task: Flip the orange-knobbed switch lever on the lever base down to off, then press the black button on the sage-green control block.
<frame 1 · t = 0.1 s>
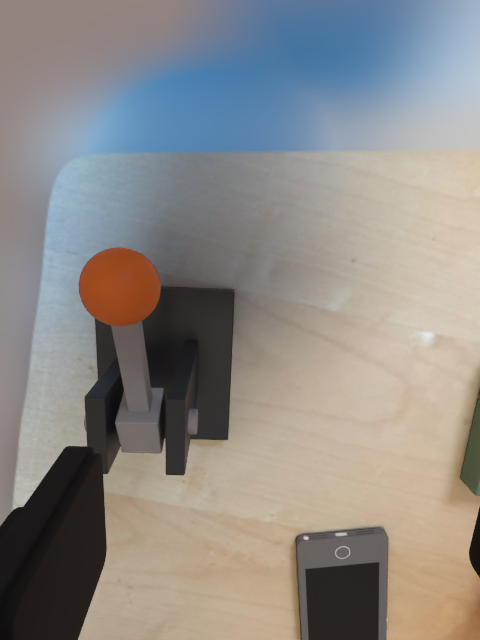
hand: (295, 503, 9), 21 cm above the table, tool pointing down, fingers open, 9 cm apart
smartphone: (341, 594, 37), on the table
lever base: (166, 362, 30), on the table
switch lever: (133, 362, 19), point 11 cm above the table, hinge at 25.0°
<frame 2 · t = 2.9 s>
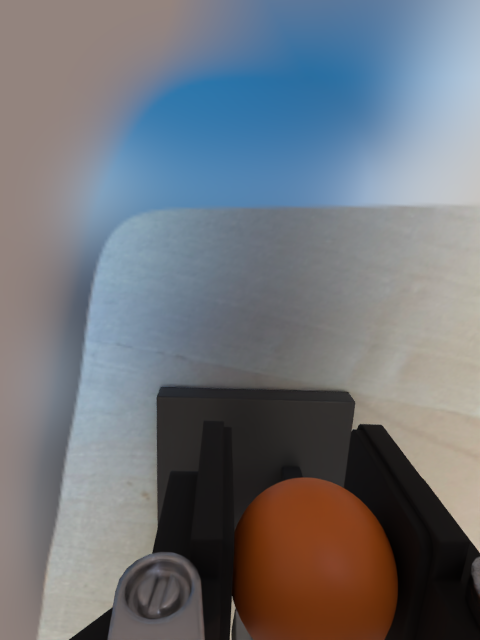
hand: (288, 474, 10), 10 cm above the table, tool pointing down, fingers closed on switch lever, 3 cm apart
lever base: (249, 486, 22), on the table
switch lever: (281, 625, 10), point 11 cm above the table, hinge at 25.0°, touching gripper
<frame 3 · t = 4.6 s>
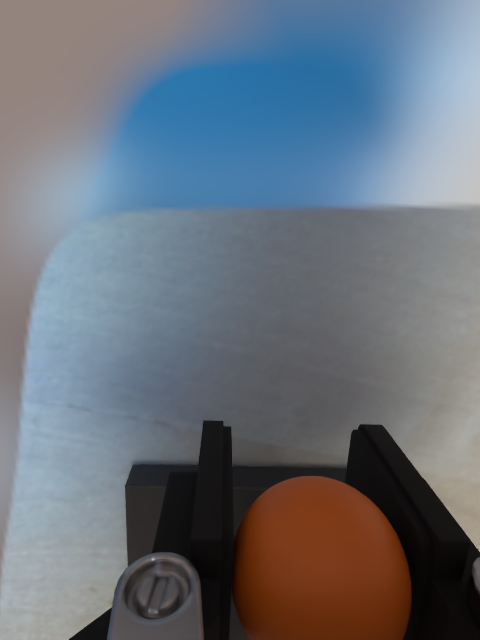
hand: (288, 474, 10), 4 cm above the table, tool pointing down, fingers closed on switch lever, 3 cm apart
lever base: (258, 592, 16), on the table
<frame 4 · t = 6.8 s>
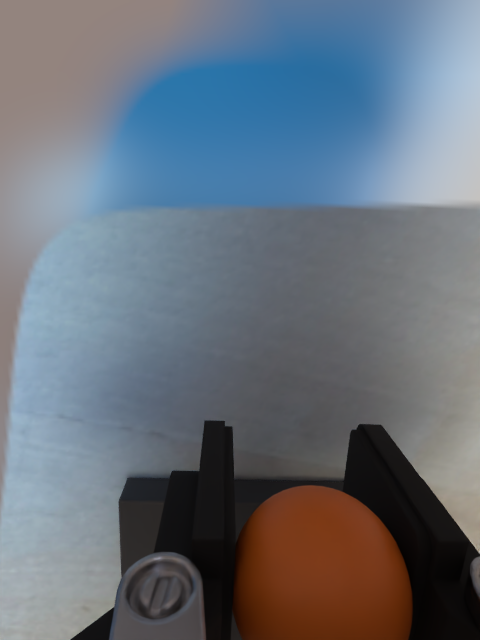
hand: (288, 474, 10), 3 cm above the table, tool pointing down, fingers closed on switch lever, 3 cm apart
lever base: (260, 611, 15), on the table
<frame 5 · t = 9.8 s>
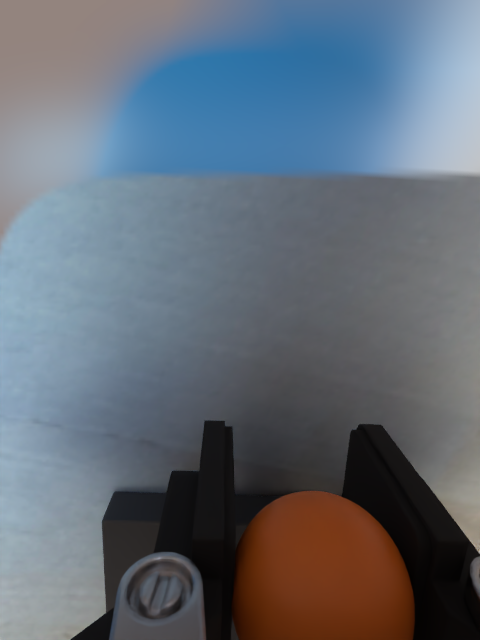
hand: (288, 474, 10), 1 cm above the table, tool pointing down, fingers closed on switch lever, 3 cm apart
lever base: (264, 639, 13), on the table
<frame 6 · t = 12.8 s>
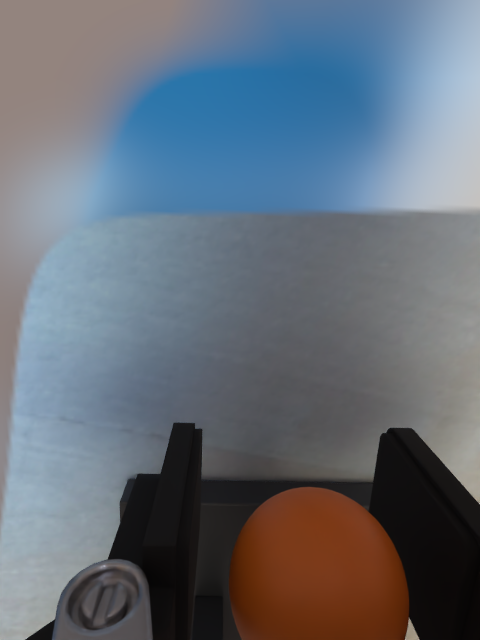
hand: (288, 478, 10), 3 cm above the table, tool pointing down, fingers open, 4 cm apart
lever base: (259, 611, 15), on the table
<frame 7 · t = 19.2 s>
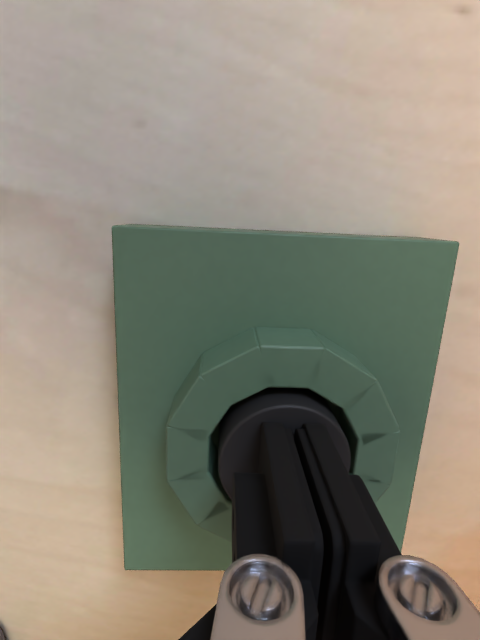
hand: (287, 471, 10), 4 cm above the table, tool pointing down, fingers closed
control block: (267, 393, 15), on the table
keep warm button: (280, 447, 11), point 4 cm above the table, slide at -0.8 cm, touching gripper
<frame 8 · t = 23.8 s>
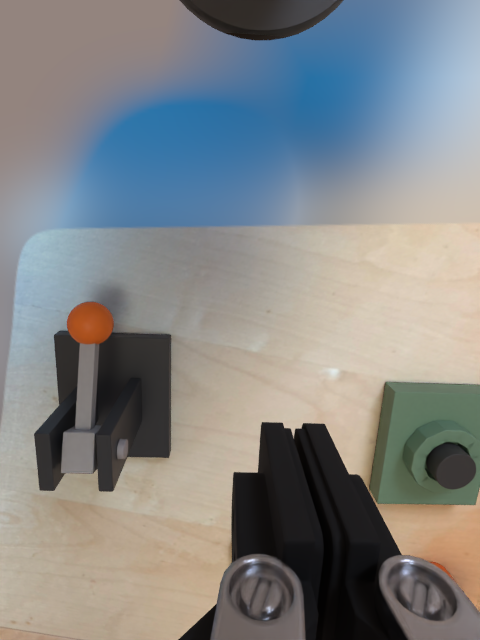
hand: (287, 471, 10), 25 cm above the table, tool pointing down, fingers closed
control block: (425, 438, 39), on the table
lever base: (117, 393, 37), on the table
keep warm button: (450, 466, 35), point 4 cm above the table, slide at 0.1 cm
switch lever: (87, 384, 28), point 8 cm above the table, hinge at -17.8°
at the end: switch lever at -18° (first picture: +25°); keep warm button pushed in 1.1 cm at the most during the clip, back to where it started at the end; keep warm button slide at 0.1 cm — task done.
